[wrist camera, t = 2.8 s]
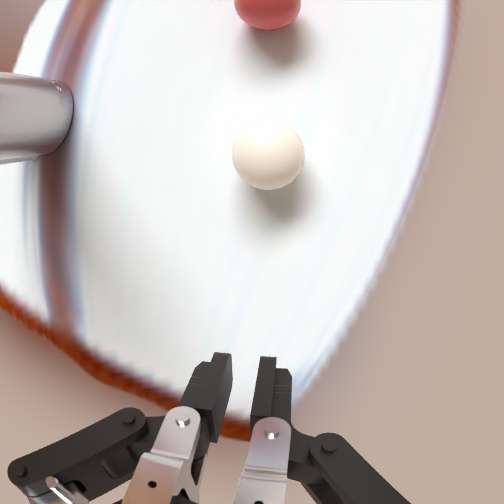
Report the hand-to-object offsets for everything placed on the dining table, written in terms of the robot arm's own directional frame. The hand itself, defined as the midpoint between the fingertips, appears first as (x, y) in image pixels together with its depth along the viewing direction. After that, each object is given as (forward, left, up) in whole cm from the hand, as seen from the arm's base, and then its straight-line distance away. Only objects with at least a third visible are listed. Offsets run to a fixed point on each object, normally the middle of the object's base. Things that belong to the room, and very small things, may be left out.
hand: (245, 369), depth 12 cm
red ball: (+12, +20, -12) cm, 26 cm away
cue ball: (+5, +8, -12) cm, 16 cm away
